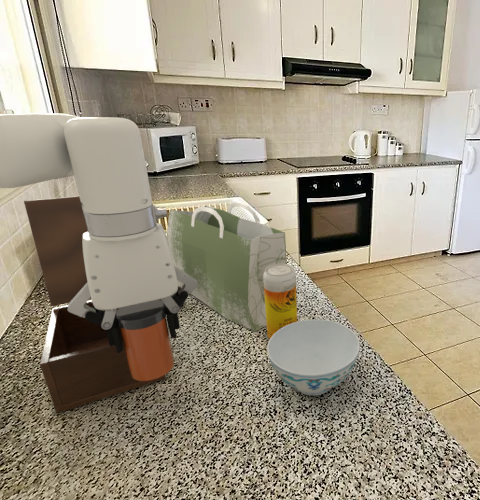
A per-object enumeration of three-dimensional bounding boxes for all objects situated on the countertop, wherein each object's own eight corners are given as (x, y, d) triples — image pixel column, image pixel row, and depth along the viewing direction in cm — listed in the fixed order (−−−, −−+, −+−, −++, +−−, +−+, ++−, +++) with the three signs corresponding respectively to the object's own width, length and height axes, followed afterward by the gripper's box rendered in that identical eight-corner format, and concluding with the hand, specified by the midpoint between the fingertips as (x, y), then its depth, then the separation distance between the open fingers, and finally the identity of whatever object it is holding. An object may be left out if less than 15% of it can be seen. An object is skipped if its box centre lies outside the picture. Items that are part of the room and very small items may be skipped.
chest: (165, 378, 64) (156, 334, 60) (56, 413, 56) (39, 364, 53) (153, 327, 78) (146, 289, 74) (65, 349, 70) (52, 308, 67)
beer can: (284, 348, 72) (280, 278, 67) (261, 338, 75) (256, 270, 70) (303, 333, 77) (302, 267, 71) (281, 324, 80) (278, 260, 74)
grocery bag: (300, 306, 87) (297, 210, 79) (253, 332, 77) (244, 225, 68) (217, 270, 105) (207, 188, 96) (169, 287, 94) (154, 197, 86)
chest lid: (126, 192, 70) (126, 192, 70) (23, 200, 62) (24, 200, 63) (145, 287, 74) (145, 286, 75) (51, 306, 66) (51, 305, 67)
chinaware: (261, 365, 67) (259, 329, 65) (338, 347, 73) (339, 312, 70) (281, 427, 55) (279, 385, 52) (373, 399, 60) (375, 360, 57)
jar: (120, 372, 54) (105, 313, 51) (157, 350, 59) (146, 294, 56) (147, 387, 52) (133, 325, 48) (184, 362, 57) (174, 305, 53)
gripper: (189, 206, 54) (204, 313, 61) (39, 222, 46) (75, 345, 52) (200, 219, 48) (215, 336, 55) (30, 240, 40) (72, 376, 46)
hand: (146, 339), depth 54 cm, fingers closed on jar, 6 cm apart
